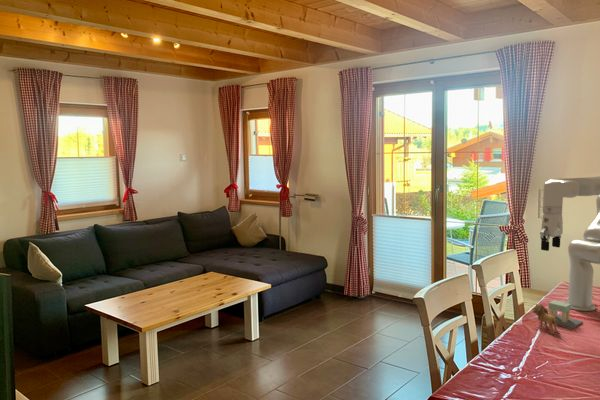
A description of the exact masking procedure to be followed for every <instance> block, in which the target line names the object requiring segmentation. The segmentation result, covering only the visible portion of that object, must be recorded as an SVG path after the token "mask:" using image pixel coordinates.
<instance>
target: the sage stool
mask: <svg viewBox="0 0 600 400" xmlns="http://www.w3.org/2000/svg"><path fill="white" fill-rule="evenodd" d="M564 302H565V301H559V300H555V299H554V300H552V301H549V302H548V313H549V314H550V315H552V316H555V317H557V315H558V312H561V316H562V322H564V323H565V322H566V320H567V321H569V320H570V318H571V310H572V309H571V304H568V303H564Z"/></svg>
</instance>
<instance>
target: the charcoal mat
mask: <svg viewBox="0 0 600 400" xmlns="http://www.w3.org/2000/svg"><path fill="white" fill-rule="evenodd" d="M548 314H549V312H548ZM555 318H556V320H557V324H556V326H559V327H563V328H567V329H570V330H573V329H575V328H577V327H579V326H580V325H582V324H583V323H584V321H583V320H579V319H575V318H571V317H570V320H569V321H567V320H566V322H565V323H564V322H562V314H561V315H560V314H557V317H555ZM538 321H540V319H539V318H538ZM543 322H545V321H544V320H543Z"/></svg>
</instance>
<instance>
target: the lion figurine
mask: <svg viewBox="0 0 600 400" xmlns="http://www.w3.org/2000/svg"><path fill="white" fill-rule="evenodd" d="M531 311H532V313H533V314H535V315H537V317H538V318H539V319H540V320H539V319H538V320H539V323H540V324H539V325H538V327H539V328H542V327H547V326H549V329H550V330H551V332H550V335H554V334H555V333H557V335H560V336H561V335H562V334H561V333H560V332H559V331H558V329H557V325H556V324H557V320H556V318H555V316H552V315H550V314H548V313H549V310H548V309H547V308H546V307H545V306H544V305H542V304H541V303H535V306H534V307H533V308H532V309H531ZM543 320H544V321H543ZM543 322H544V323H543ZM553 326H554V327H553Z"/></svg>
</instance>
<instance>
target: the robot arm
mask: <svg viewBox="0 0 600 400" xmlns="http://www.w3.org/2000/svg"><path fill="white" fill-rule="evenodd" d="M542 195H543V196H542V197H543V198H542V219H541V220H542V221H541V229H540V232H539V234H540V241H541V242H540V250H541V251H546V252H547V251H548V252H549V251H550V238H551V239H552V240H551V247H554V248H560V247H561V238H562V235H563V232H564V231H563V229H564V228H563V226H564V225H563V224H564V221H563V201H564V198H567V199H569V198H576V197H589V196H590V197H591V196H597V197H596V201H595V203H596V216H595V217H594V219H593V220H592V222H591V223H590V224H589V225H588V226H587V228H586V229H585V230H584V233H583V239H581V238H579V239H574V240H572V241H570V242H569V245H568V249H567V251H568V258H569V276H568V277H569V280H568V293H567V300H565V301H563V302H564V303H568V304H571V310H574V311H582V312H591V311H594V310H596V305H595V304H594V303H593V300H594V298H595V297H594V296H593V286H594V285H593V284H594V267H593V265H592V264H597V265H600V176H586V177H569V178H568V177H567V178H551V179H549V180H547V181H545V182H544V184H543V194H542Z"/></svg>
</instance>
